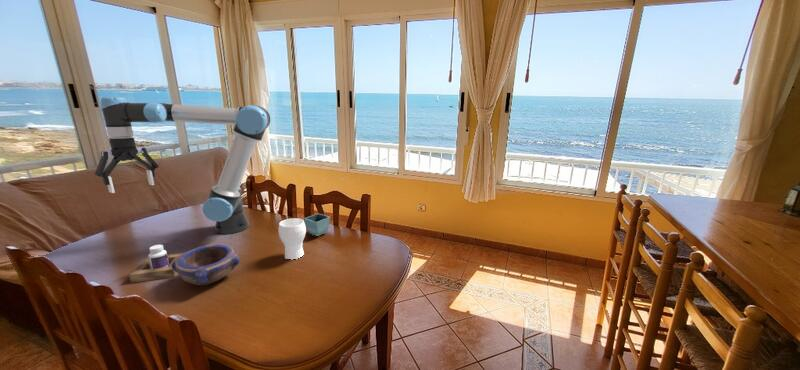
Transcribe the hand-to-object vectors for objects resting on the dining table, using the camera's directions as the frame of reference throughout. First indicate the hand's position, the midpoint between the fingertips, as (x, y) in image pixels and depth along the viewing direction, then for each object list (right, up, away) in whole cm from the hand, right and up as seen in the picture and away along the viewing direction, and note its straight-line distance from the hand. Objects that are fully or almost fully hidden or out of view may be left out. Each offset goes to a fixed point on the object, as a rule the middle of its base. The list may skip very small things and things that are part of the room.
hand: (132, 188), depth 124 cm
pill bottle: (+21, -31, -11) cm, 39 cm away
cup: (+67, -29, +1) cm, 73 cm away
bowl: (+43, -33, -17) cm, 56 cm away
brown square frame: (+21, -31, -12) cm, 39 cm away
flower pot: (+72, -23, +22) cm, 78 cm away
